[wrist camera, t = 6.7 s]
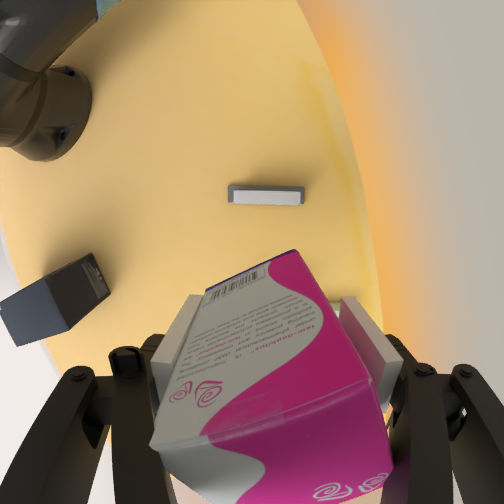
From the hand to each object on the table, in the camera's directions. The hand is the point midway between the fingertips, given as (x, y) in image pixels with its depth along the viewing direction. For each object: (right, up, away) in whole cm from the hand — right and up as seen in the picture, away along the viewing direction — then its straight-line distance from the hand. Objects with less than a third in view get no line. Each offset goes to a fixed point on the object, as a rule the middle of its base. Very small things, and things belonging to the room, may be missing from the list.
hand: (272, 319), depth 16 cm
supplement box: (0, 0, +1) cm, 1 cm away
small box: (-29, -2, +23) cm, 37 cm away
